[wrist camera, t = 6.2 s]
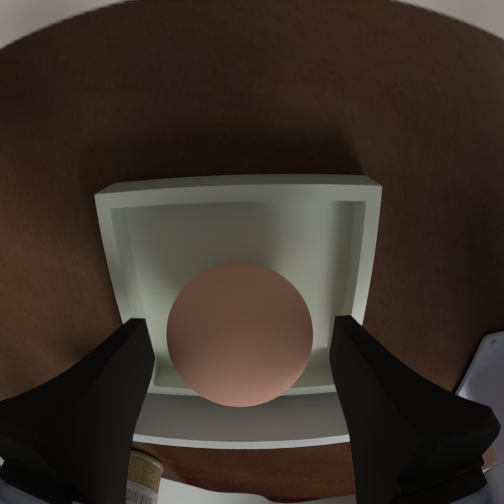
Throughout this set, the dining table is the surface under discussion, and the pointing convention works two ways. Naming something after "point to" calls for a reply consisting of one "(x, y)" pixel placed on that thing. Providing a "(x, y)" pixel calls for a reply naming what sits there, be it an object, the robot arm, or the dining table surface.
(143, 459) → the spice bottle
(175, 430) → the acrylic wall
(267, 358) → the ball
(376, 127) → the dining table surface
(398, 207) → the dining table surface
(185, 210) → the tray
